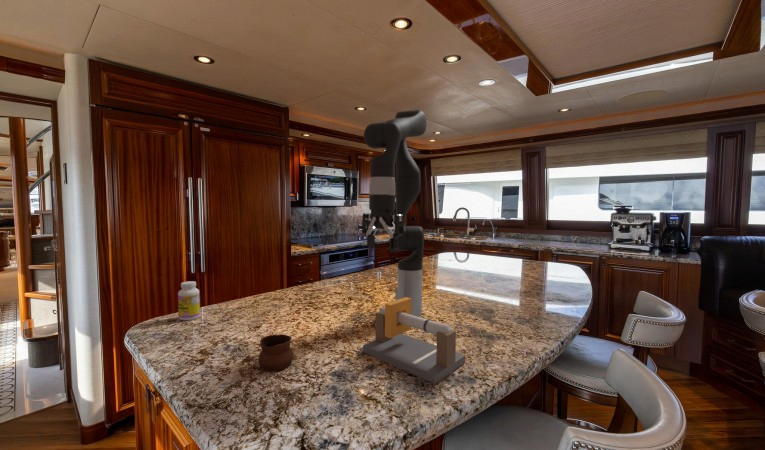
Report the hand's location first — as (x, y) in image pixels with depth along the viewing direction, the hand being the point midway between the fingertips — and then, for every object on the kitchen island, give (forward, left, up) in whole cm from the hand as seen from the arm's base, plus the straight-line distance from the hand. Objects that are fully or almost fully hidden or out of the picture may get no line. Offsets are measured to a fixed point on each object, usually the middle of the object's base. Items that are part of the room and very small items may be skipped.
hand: (381, 249), depth 96 cm
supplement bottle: (-65, -31, -28) cm, 78 cm away
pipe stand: (+12, 0, -28) cm, 31 cm away
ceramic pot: (-11, -27, -29) cm, 41 cm away
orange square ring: (+7, 0, -23) cm, 24 cm away
